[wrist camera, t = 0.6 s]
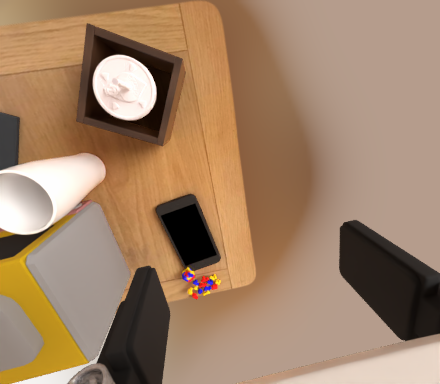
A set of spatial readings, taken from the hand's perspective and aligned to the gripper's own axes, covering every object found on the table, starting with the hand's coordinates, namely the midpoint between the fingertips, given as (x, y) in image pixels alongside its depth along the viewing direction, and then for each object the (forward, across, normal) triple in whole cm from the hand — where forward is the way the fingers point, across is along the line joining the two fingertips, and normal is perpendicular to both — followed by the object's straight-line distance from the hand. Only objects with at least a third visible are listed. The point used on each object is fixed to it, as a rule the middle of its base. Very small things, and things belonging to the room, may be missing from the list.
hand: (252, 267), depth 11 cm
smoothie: (+28, +8, -11) cm, 31 cm away
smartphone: (+27, +6, +13) cm, 31 cm away
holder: (+27, +8, -11) cm, 31 cm away
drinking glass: (+28, +19, -3) cm, 34 cm away
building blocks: (+25, +7, +23) cm, 35 cm away
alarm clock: (+27, +28, +10) cm, 40 cm away
